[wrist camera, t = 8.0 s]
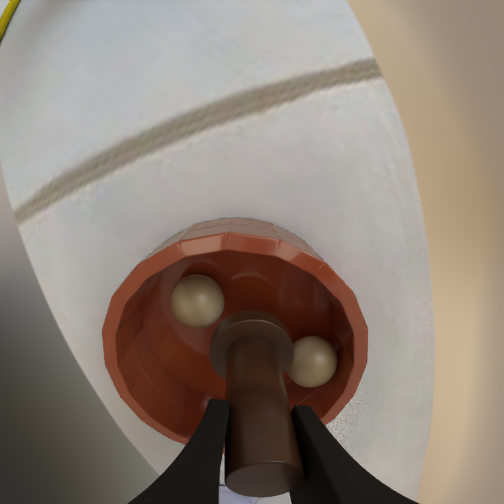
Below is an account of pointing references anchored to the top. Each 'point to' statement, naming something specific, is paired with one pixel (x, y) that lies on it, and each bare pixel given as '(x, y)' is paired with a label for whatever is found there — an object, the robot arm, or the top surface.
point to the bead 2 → (312, 361)
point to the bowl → (236, 300)
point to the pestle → (257, 404)
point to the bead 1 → (197, 301)
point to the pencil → (7, 15)
